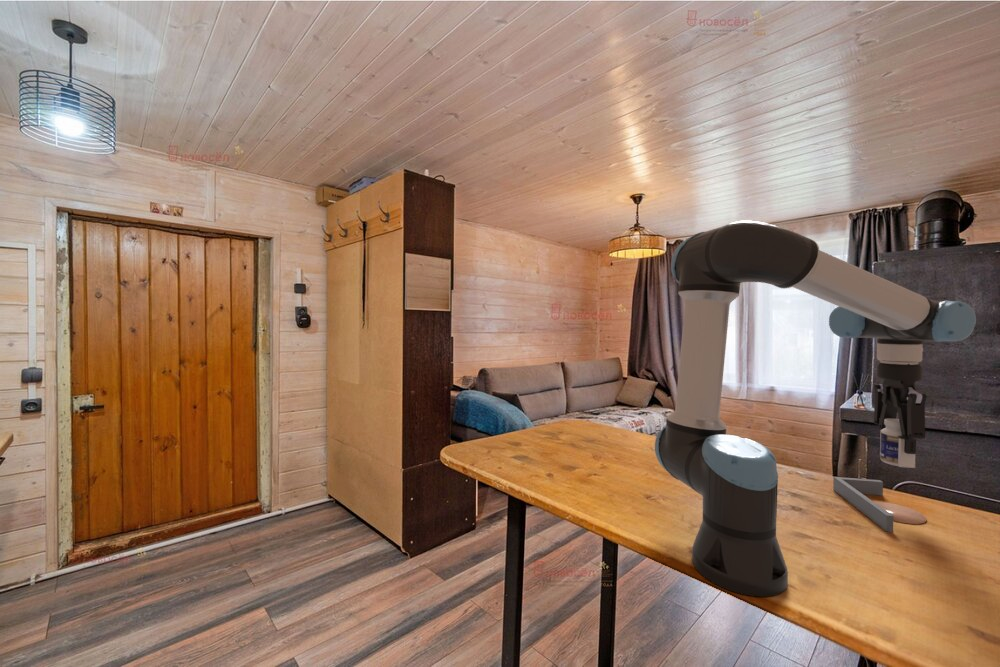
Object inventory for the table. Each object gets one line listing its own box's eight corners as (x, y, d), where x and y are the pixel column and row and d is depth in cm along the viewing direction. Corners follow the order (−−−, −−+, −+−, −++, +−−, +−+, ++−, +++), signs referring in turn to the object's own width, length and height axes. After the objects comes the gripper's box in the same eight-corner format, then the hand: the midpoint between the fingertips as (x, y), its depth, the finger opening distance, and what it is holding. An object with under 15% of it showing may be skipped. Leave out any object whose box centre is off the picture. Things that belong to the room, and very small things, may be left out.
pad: (938, 526, 90) (938, 524, 90) (883, 521, 92) (883, 519, 92) (906, 505, 99) (906, 504, 99) (857, 501, 102) (857, 500, 102)
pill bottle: (885, 465, 94) (885, 422, 94) (876, 457, 99) (877, 416, 99) (919, 469, 91) (920, 425, 91) (908, 461, 96) (909, 419, 96)
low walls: (945, 537, 85) (946, 520, 85) (886, 531, 88) (886, 515, 88) (879, 493, 106) (880, 480, 106) (833, 489, 109) (833, 476, 109)
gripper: (952, 367, 84) (949, 478, 85) (891, 358, 102) (889, 450, 103) (907, 367, 86) (905, 475, 87) (856, 357, 104) (854, 448, 105)
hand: (896, 461), depth 95 cm, fingers closed on pill bottle, 6 cm apart
